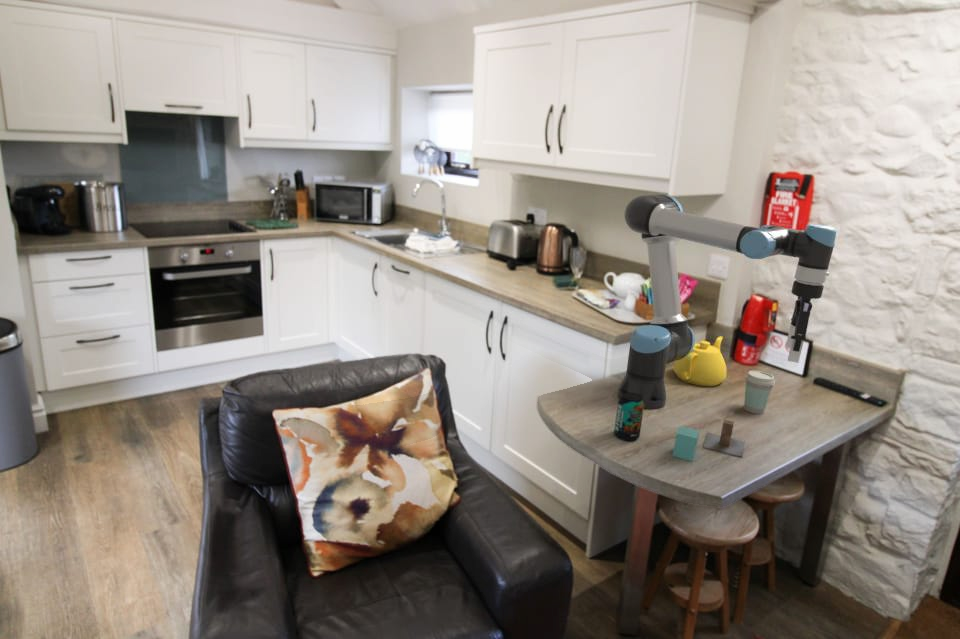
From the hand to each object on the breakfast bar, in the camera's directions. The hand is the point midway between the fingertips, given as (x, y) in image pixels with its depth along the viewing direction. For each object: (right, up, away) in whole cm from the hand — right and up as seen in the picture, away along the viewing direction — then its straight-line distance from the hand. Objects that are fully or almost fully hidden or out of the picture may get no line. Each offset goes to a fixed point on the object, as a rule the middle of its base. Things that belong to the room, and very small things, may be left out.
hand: (791, 354), depth 178 cm
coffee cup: (-2, -19, +21) cm, 28 cm away
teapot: (-10, -11, +46) cm, 48 cm away
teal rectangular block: (-35, -26, -12) cm, 45 cm away
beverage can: (-48, -23, -4) cm, 53 cm away
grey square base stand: (-21, -25, -5) cm, 33 cm away
